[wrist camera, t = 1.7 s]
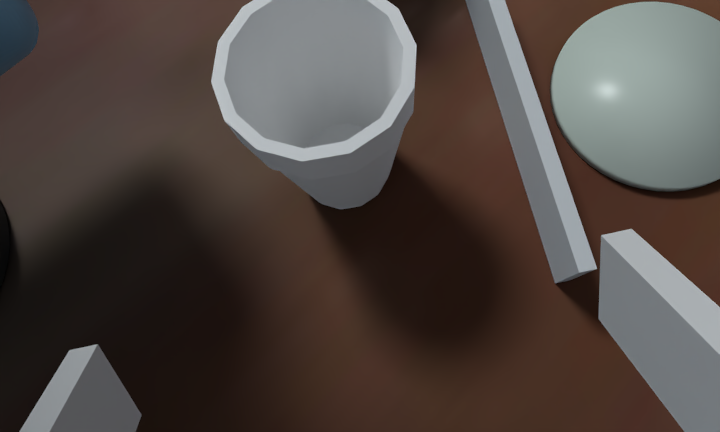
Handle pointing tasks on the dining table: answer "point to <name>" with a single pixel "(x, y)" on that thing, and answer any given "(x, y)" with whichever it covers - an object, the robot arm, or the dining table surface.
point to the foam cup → (319, 91)
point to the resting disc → (643, 95)
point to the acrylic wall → (531, 142)
